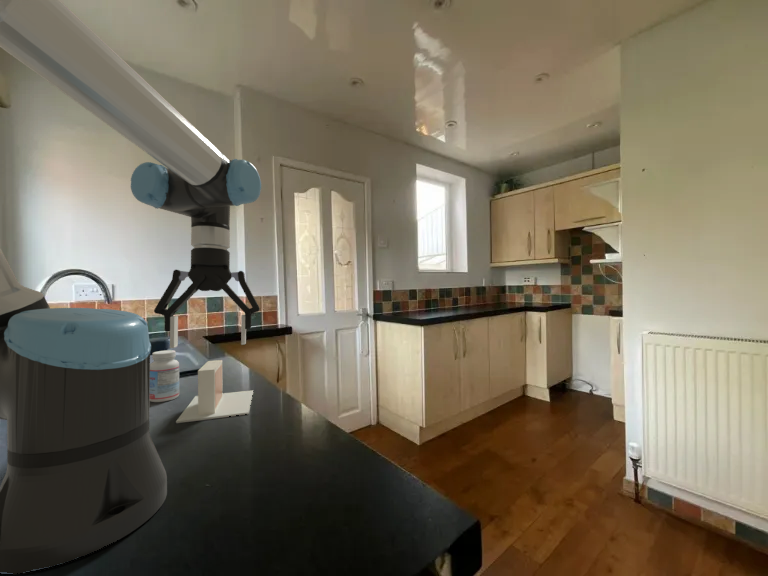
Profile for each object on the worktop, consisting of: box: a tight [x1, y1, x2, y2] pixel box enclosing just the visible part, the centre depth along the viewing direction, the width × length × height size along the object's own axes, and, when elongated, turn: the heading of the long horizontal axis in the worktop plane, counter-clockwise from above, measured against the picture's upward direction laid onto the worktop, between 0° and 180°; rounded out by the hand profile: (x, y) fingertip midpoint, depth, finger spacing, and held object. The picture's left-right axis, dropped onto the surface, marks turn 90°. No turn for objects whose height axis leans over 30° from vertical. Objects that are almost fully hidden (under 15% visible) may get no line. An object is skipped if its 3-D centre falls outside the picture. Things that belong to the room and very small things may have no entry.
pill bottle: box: [150, 349, 180, 403], centre depth 77 cm, size 6×6×11 cm
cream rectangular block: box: [197, 359, 224, 415], centre depth 71 cm, size 10×3×9 cm, turn 18°
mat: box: [175, 389, 254, 424], centre depth 72 cm, size 16×13×1 cm
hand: (209, 345), depth 71 cm, fingers open, 13 cm apart
